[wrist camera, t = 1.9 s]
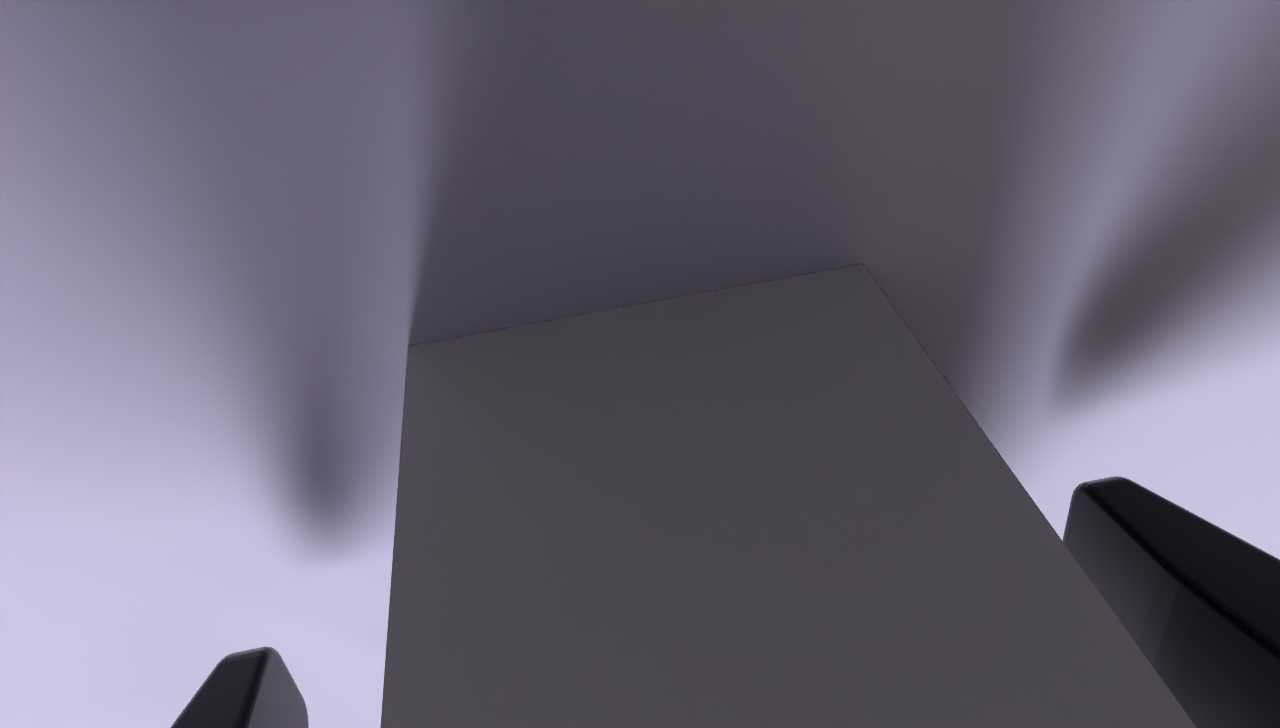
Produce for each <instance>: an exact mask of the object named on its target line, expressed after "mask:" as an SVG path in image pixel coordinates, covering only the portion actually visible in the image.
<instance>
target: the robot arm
mask: <svg viewBox="0 0 1280 728" xmlns="http://www.w3.org/2000/svg"><path fill="white" fill-rule="evenodd" d="M1063 543H1064V544H1065V546H1066V547H1067V548H1068V550H1069V551H1070V553H1071V554H1072V555H1073V557H1074V558H1075V559H1076V561H1077V562H1078V564H1079V565H1080V566H1081V568H1082V569H1083V571H1084V572H1085V573H1086V575H1087V576H1088V578H1089V579H1090V580H1091V582H1092V583H1093V584H1094V586H1095V587H1096V589H1097V590H1098V591H1099V593H1100V594H1101V596H1102V597H1103V598H1104V600H1105V601H1106V602H1107V604H1108V605H1109V607H1110V608H1111V609H1112V611H1113V612H1114V614H1115V615H1116V616H1117V618H1118V619H1119V621H1120V622H1121V623H1122V625H1123V626H1124V627H1125V629H1126V630H1127V632H1128V633H1129V634H1130V636H1131V637H1132V639H1133V640H1134V641H1135V643H1136V644H1137V646H1138V647H1139V648H1140V650H1141V651H1142V652H1143V654H1144V655H1145V657H1146V658H1147V659H1148V661H1149V662H1150V664H1151V665H1152V666H1153V668H1154V669H1155V670H1156V672H1157V673H1158V675H1159V676H1160V677H1161V679H1162V680H1163V682H1164V683H1165V684H1166V686H1167V687H1168V689H1169V690H1170V691H1171V693H1172V694H1173V695H1174V697H1175V698H1176V700H1177V701H1178V702H1179V704H1180V705H1181V707H1182V708H1183V709H1184V711H1185V712H1186V713H1187V715H1188V716H1189V718H1190V719H1191V720H1192V722H1193V723H1194V725H1195V726H1196V727H1197V728H1280V559H1278V558H1276V557H1274V556H1272V555H1270V554H1268V553H1266V552H1265V551H1263V550H1261V549H1259V548H1257V547H1255V546H1253V545H1251V544H1250V543H1248V542H1246V541H1244V540H1242V539H1240V538H1238V537H1236V536H1235V535H1233V534H1231V533H1229V532H1227V531H1225V530H1223V529H1221V528H1220V527H1218V526H1216V525H1214V524H1212V523H1210V522H1208V521H1206V520H1204V519H1203V518H1201V517H1199V516H1197V515H1195V514H1193V513H1191V512H1189V511H1188V510H1186V509H1184V508H1182V507H1180V506H1178V505H1176V504H1174V503H1173V502H1171V501H1169V500H1167V499H1165V498H1163V497H1161V496H1159V495H1158V494H1156V493H1154V492H1152V491H1150V490H1148V489H1146V488H1144V487H1143V486H1141V485H1139V484H1137V483H1135V482H1133V481H1131V480H1129V479H1126V478H1123V477H1109V478H1104V479H1099V480H1094V481H1089V482H1084V483H1081V484H1079V485H1078V486H1077V487H1076V489H1075V490H1074V492H1073V494H1072V499H1071V503H1070V508H1069V513H1068V517H1067V522H1066V527H1065V531H1064V536H1063ZM171 728H308V714H307V709H306V705H305V702H304V699H303V697H302V695H301V693H300V691H299V689H298V688H297V686H296V684H295V682H294V680H293V678H292V676H291V675H290V673H289V671H288V669H287V667H286V665H285V663H284V662H283V660H282V658H281V656H280V655H279V653H278V652H277V651H276V650H275V649H273V648H271V647H261V648H256V649H251V650H246V651H241V652H236V653H232V654H230V655H228V656H226V657H225V658H223V659H222V660H221V661H220V662H219V663H218V664H217V666H216V667H215V668H214V670H213V671H212V672H211V674H210V675H209V676H208V678H207V679H206V681H205V682H204V683H203V685H202V686H201V687H200V689H199V690H198V691H197V693H196V694H195V695H194V697H193V698H192V699H191V701H190V702H189V703H188V705H187V706H186V707H185V709H184V710H183V711H182V713H181V714H180V715H179V717H178V718H177V720H176V721H175V722H174V724H173V725H172V726H171Z"/></svg>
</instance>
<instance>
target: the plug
mask: <svg viewBox="0 0 1280 728" xmlns="http://www.w3.org/2000/svg"><path fill="white" fill-rule="evenodd" d="M381 728H1197V727H1196V726H1195V725H1194V723H1193V722H1192V720H1191V719H1190V718H1189V716H1188V715H1187V713H1186V712H1185V711H1184V709H1183V708H1182V707H1181V705H1180V704H1179V702H1178V701H1177V700H1176V698H1175V697H1174V695H1173V694H1172V693H1171V691H1170V690H1169V689H1168V687H1167V686H1166V684H1165V683H1164V682H1163V680H1162V679H1161V677H1160V676H1159V675H1158V673H1157V672H1156V670H1155V669H1154V668H1153V666H1152V665H1151V664H1150V662H1149V661H1148V659H1147V658H1146V657H1145V655H1144V654H1143V652H1142V651H1141V650H1140V648H1139V647H1138V646H1137V644H1136V643H1135V641H1134V640H1133V639H1132V637H1131V636H1130V634H1129V633H1128V632H1127V630H1126V629H1125V627H1124V626H1123V625H1122V623H1121V622H1120V621H1119V619H1118V618H1117V616H1116V615H1115V614H1114V612H1113V611H1112V609H1111V608H1110V607H1109V605H1108V604H1107V602H1106V601H1105V600H1104V598H1103V597H1102V596H1101V594H1100V593H1099V591H1098V590H1097V589H1096V587H1095V586H1094V584H1093V583H1092V582H1091V580H1090V579H1089V578H1088V576H1087V575H1086V573H1085V572H1084V571H1083V569H1082V568H1081V566H1080V565H1079V564H1078V562H1077V561H1076V559H1075V558H1074V557H1073V555H1072V554H1071V553H1070V551H1069V550H1068V548H1067V547H1066V546H1065V544H1064V543H1063V541H1062V540H1061V539H1060V537H1059V536H1058V534H1057V533H1056V532H1055V530H1054V529H1053V528H1052V526H1051V525H1050V523H1049V522H1048V521H1047V519H1046V518H1045V516H1044V515H1043V514H1042V512H1041V511H1040V510H1039V508H1038V507H1037V505H1036V504H1035V503H1034V501H1033V500H1032V498H1031V497H1030V496H1029V494H1028V493H1027V491H1026V490H1025V489H1024V487H1023V486H1022V485H1021V483H1020V482H1019V480H1018V479H1017V478H1016V476H1015V475H1014V473H1013V472H1012V471H1011V469H1010V468H1009V466H1008V465H1007V464H1006V462H1005V461H1004V460H1003V458H1002V457H1001V455H1000V454H999V453H998V451H997V450H996V448H995V447H994V446H993V444H992V443H991V442H990V440H989V439H988V437H987V436H986V435H985V433H984V432H983V430H982V429H981V428H980V426H979V425H978V423H977V422H976V421H975V419H974V418H973V417H972V415H971V414H970V412H969V411H968V410H967V408H966V407H965V405H964V404H963V403H962V401H961V400H960V398H959V397H958V396H957V394H956V393H955V392H954V390H953V389H952V387H951V386H950V385H949V383H948V382H947V380H946V379H945V378H944V376H943V375H942V374H941V372H940V371H939V369H938V368H937V367H936V365H935V364H934V362H933V361H932V360H931V358H930V357H929V355H928V354H927V353H926V351H925V350H924V349H923V347H922V346H921V344H920V343H919V342H918V340H917V339H916V337H915V336H914V335H913V333H912V332H911V330H910V329H909V328H908V326H907V325H906V324H905V322H904V321H903V319H902V318H901V317H900V315H899V314H898V312H897V311H896V310H895V308H894V307H893V306H892V304H891V303H890V301H889V300H888V299H887V297H886V296H885V294H884V293H883V292H882V290H881V289H880V287H879V286H878V285H877V283H876V282H875V281H874V279H873V278H872V276H871V275H870V274H869V272H868V271H867V269H866V268H865V267H864V265H863V264H858V265H853V266H847V267H842V268H836V269H831V270H825V271H819V272H814V273H808V274H803V275H797V276H792V277H786V278H781V279H775V280H770V281H764V282H759V283H753V284H748V285H742V286H737V287H731V288H726V289H720V290H714V291H709V292H703V293H698V294H692V295H687V296H681V297H676V298H670V299H665V300H659V301H654V302H648V303H643V304H637V305H632V306H626V307H621V308H615V309H609V310H604V311H598V312H593V313H587V314H582V315H576V316H571V317H565V318H560V319H554V320H549V321H543V322H538V323H532V324H527V325H521V326H515V327H510V328H504V329H499V330H493V331H488V332H482V333H477V334H471V335H466V336H460V337H455V338H449V339H444V340H438V341H433V342H427V343H422V344H416V345H410V346H408V352H407V366H406V380H405V394H404V408H403V422H402V436H401V450H400V464H399V478H398V492H397V506H396V520H395V534H394V548H393V562H392V576H391V590H390V604H389V618H388V632H387V646H386V660H385V674H384V688H383V702H382V716H381Z"/></svg>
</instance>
